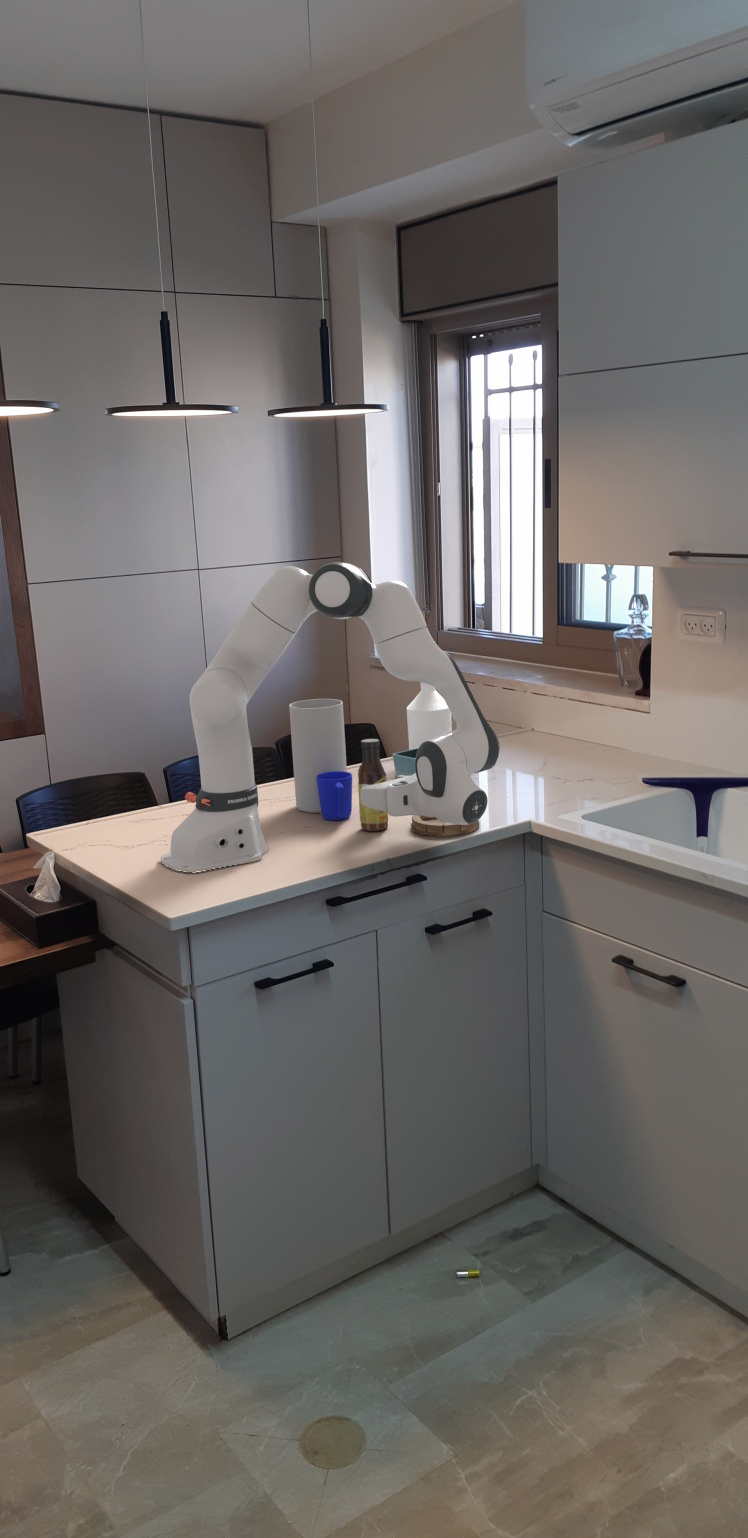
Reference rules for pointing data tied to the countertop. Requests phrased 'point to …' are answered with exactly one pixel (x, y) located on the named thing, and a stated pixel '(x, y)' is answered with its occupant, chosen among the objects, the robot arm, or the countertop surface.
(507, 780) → the countertop surface
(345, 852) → the countertop surface
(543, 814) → the countertop surface
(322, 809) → the mug
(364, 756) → the sauce bottle
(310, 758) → the cylinder vase
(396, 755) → the flower pot
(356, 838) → the countertop surface
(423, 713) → the bottle
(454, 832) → the tray
